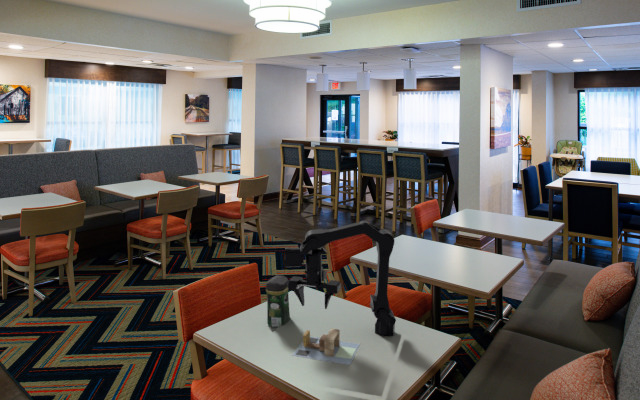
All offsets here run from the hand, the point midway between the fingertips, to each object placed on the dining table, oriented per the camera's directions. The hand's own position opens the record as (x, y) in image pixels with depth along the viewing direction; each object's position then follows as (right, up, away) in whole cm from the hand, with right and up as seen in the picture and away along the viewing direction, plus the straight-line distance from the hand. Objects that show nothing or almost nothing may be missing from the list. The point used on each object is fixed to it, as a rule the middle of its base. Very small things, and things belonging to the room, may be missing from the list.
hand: (314, 307), depth 164 cm
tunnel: (+6, -13, -9) cm, 17 cm away
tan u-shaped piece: (+2, -12, -8) cm, 14 cm away
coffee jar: (-14, -10, +15) cm, 23 cm away
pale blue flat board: (+4, -14, -8) cm, 17 cm away
